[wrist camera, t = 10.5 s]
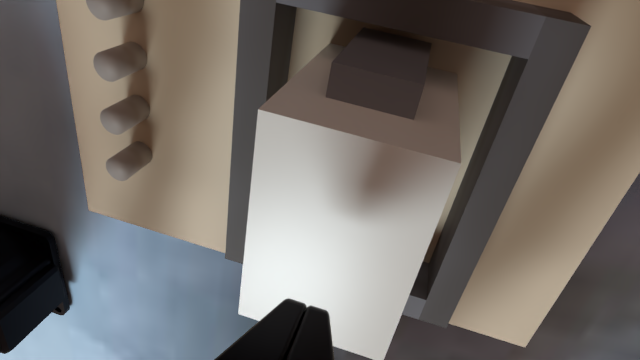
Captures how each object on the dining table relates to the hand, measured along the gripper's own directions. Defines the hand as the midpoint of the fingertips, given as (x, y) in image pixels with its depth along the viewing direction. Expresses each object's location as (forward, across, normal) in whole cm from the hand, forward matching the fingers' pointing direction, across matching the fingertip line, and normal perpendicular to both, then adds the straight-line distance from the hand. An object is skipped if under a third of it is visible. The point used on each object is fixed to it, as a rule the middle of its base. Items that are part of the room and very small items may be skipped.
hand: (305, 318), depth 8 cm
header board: (+9, +2, 0) cm, 10 cm away
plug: (+8, 0, 0) cm, 8 cm away
